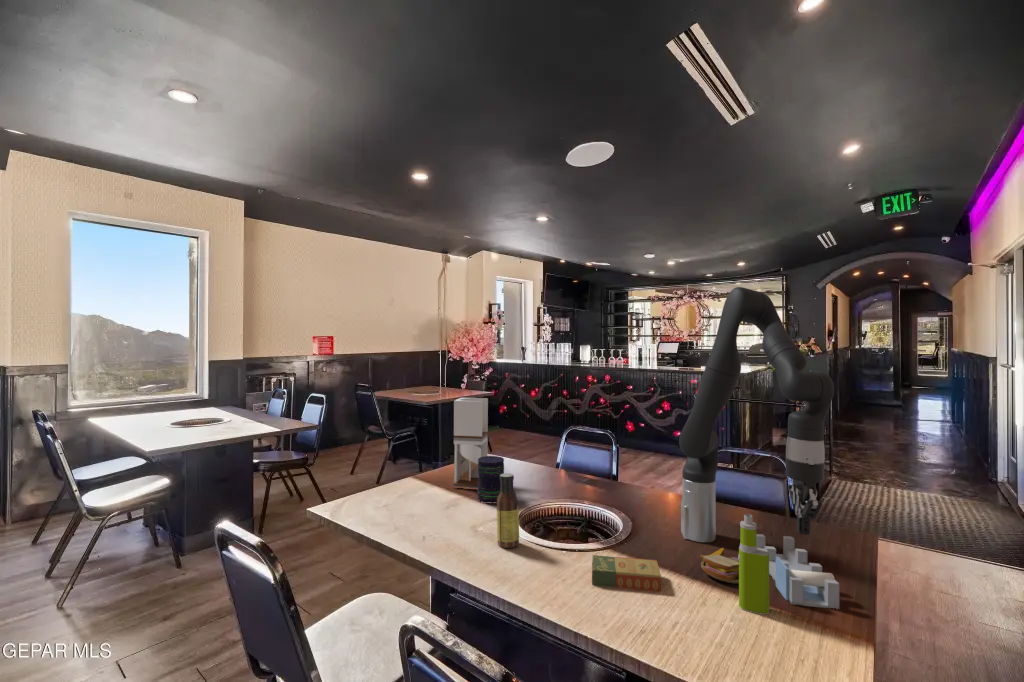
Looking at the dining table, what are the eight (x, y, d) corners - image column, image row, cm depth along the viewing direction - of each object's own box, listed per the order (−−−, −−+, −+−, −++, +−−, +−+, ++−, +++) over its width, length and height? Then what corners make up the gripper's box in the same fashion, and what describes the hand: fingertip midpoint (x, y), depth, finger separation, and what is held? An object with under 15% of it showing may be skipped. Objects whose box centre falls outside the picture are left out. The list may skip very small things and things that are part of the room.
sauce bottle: (523, 544, 133) (523, 475, 134) (508, 551, 129) (508, 479, 129) (507, 537, 138) (507, 470, 138) (492, 544, 133) (492, 474, 134)
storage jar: (503, 504, 167) (503, 462, 167) (476, 503, 167) (476, 462, 168) (504, 495, 177) (504, 456, 177) (478, 495, 177) (478, 455, 178)
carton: (661, 593, 108) (661, 575, 108) (591, 586, 111) (591, 568, 111) (657, 576, 116) (657, 558, 116) (592, 570, 119) (592, 553, 119)
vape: (737, 600, 104) (737, 511, 105) (768, 606, 102) (768, 515, 102) (738, 609, 101) (738, 516, 101) (770, 615, 99) (770, 521, 99)
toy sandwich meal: (767, 579, 115) (767, 560, 115) (728, 591, 109) (728, 571, 109) (724, 558, 126) (724, 540, 126) (687, 568, 120) (687, 550, 120)
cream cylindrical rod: (786, 586, 106) (786, 574, 106) (781, 578, 109) (781, 566, 109) (834, 591, 104) (835, 578, 104) (828, 582, 107) (829, 570, 107)
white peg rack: (788, 604, 103) (788, 572, 103) (752, 553, 128) (752, 528, 128) (839, 609, 101) (839, 576, 101) (792, 557, 126) (792, 531, 126)
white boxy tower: (453, 488, 185) (454, 400, 185) (460, 481, 196) (461, 397, 196) (481, 490, 183) (481, 401, 184) (487, 482, 194) (487, 398, 194)
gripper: (776, 450, 114) (775, 520, 114) (798, 464, 101) (796, 543, 101) (810, 452, 112) (809, 524, 112) (836, 466, 100) (835, 547, 100)
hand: (803, 533), depth 107 cm, fingers closed
